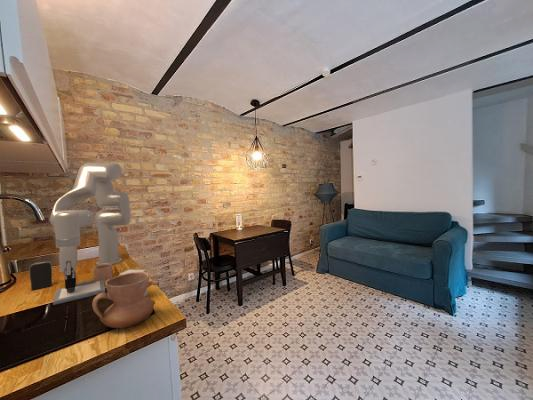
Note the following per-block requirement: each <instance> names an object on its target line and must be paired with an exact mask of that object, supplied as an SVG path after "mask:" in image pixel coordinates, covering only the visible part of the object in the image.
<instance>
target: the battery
mask: <svg viewBox="0 0 533 400" xmlns="http://www.w3.org/2000/svg"><path fill="white" fill-rule="evenodd" d="M28 269H29V279H30V290H31V291H35V290H40V289H45V288H49V287H51V286H53V267H52V263H51V261H48V260H47V261H39V262H35V263H32V264H31V265H30V266H29V268H28Z"/></svg>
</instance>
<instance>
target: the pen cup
mask: <svg viewBox="0 0 533 400" xmlns="http://www.w3.org/2000/svg"><path fill="white" fill-rule="evenodd" d="M112 268H113V267H112V265H111V264H104V265H99V266H98V265H96V266H94V267H93V280H95V281H99V280H103V279H104V282H106V281H107V280H109V279H111V278H113V272H112V271H113V269H112Z"/></svg>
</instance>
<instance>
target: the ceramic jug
mask: <svg viewBox="0 0 533 400" xmlns="http://www.w3.org/2000/svg"><path fill="white" fill-rule="evenodd" d="M140 280H141V282H139V281H140ZM157 282H158V281H157V280H151V281H150V275H149V273H148V272H146V273H145V272H132V273H127V274H123V275H120V276H119V275H116V276H114V277H113V276H112V278H111V279H109V280H106V281H105V290H106V292H105V293H101V294H97V295H96V296H94V298H93V300H92V302H91V303H92V305H91V306H92V309H93V312H94V313H95V314H96V316H98V317H99V320H100V322H101V323H103V324H104V325H105V326H106V327H108V328H112V329H124V328H129V327H133V326H136V325H139V323H142V322H143V321H145V320H146V319H147V318H148V317H150V316H151V314H152V313H153V311H154V307H155V304H156V300H154V299H152V298H149V297H147V296H145V297H144V294H145V291H146V289H147V290H148V288H150V287H151V286H156V285H157ZM101 299H107V300H111V301H112V302H113V303H112V304H110V306H108V307H107V308H106V309H105V310H104V313H103V312H102V311H101V309H100V308H99V301H100V300H101Z"/></svg>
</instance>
